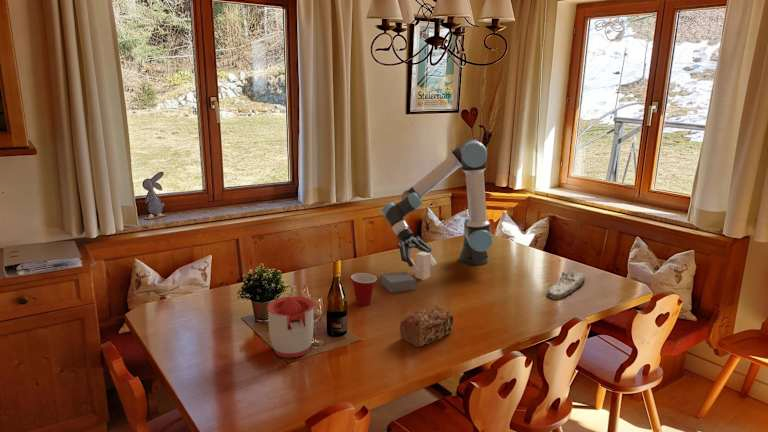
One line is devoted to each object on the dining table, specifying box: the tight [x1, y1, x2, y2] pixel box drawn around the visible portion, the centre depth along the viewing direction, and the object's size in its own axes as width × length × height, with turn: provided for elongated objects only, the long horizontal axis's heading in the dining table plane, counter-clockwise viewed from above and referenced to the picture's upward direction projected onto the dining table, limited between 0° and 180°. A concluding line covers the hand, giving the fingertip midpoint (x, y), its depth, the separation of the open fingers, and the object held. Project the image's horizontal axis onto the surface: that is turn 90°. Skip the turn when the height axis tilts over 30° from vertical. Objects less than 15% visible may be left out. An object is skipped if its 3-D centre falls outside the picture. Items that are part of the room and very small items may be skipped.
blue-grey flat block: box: [380, 270, 417, 293], centre depth 243 cm, size 12×12×5 cm
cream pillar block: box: [414, 251, 432, 281], centre depth 254 cm, size 5×5×12 cm
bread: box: [399, 305, 454, 348], centre depth 195 cm, size 19×11×10 cm, turn 133°
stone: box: [546, 270, 586, 300], centre depth 245 cm, size 35×5×10 cm
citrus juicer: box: [266, 296, 315, 359], centre depth 181 cm, size 16×17×20 cm
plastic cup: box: [350, 272, 378, 307], centre depth 223 cm, size 11×11×12 cm
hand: (425, 268), depth 253 cm, fingers open, 13 cm apart
